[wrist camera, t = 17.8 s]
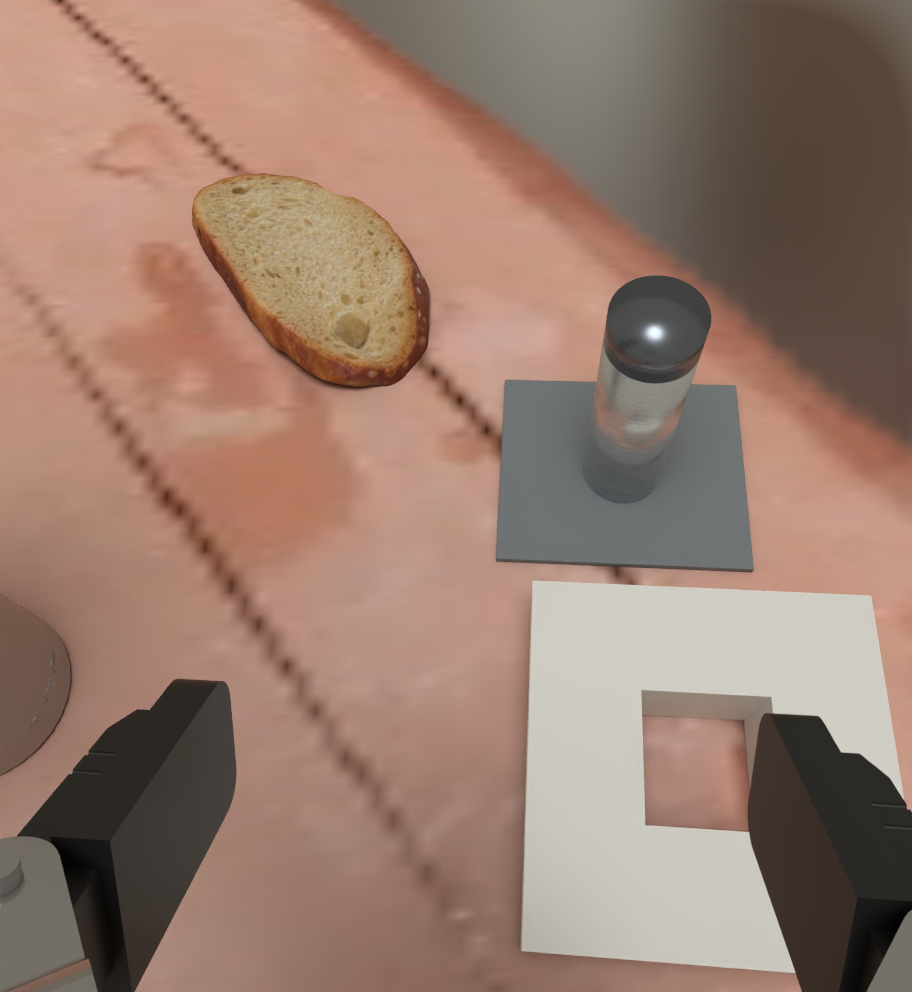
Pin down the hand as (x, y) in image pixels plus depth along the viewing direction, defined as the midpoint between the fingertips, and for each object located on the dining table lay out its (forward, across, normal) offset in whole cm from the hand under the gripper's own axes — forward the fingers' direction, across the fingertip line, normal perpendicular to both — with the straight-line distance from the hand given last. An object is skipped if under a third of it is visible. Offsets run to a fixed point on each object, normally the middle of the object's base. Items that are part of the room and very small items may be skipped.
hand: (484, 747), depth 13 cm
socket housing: (+25, -9, +18) cm, 32 cm away
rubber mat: (+37, -6, +6) cm, 38 cm away
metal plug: (+37, -6, +6) cm, 38 cm away
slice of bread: (+47, +15, -3) cm, 50 cm away
